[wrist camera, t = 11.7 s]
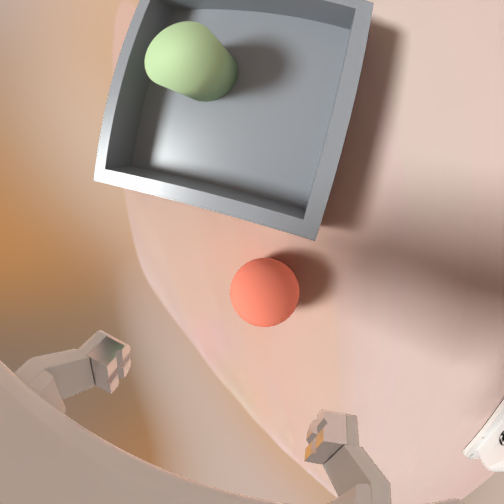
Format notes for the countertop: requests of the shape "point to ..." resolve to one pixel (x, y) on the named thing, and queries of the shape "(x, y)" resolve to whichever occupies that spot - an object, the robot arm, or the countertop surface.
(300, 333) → the countertop surface
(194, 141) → the bin
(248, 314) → the tomato ball
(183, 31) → the cucumber chunk
